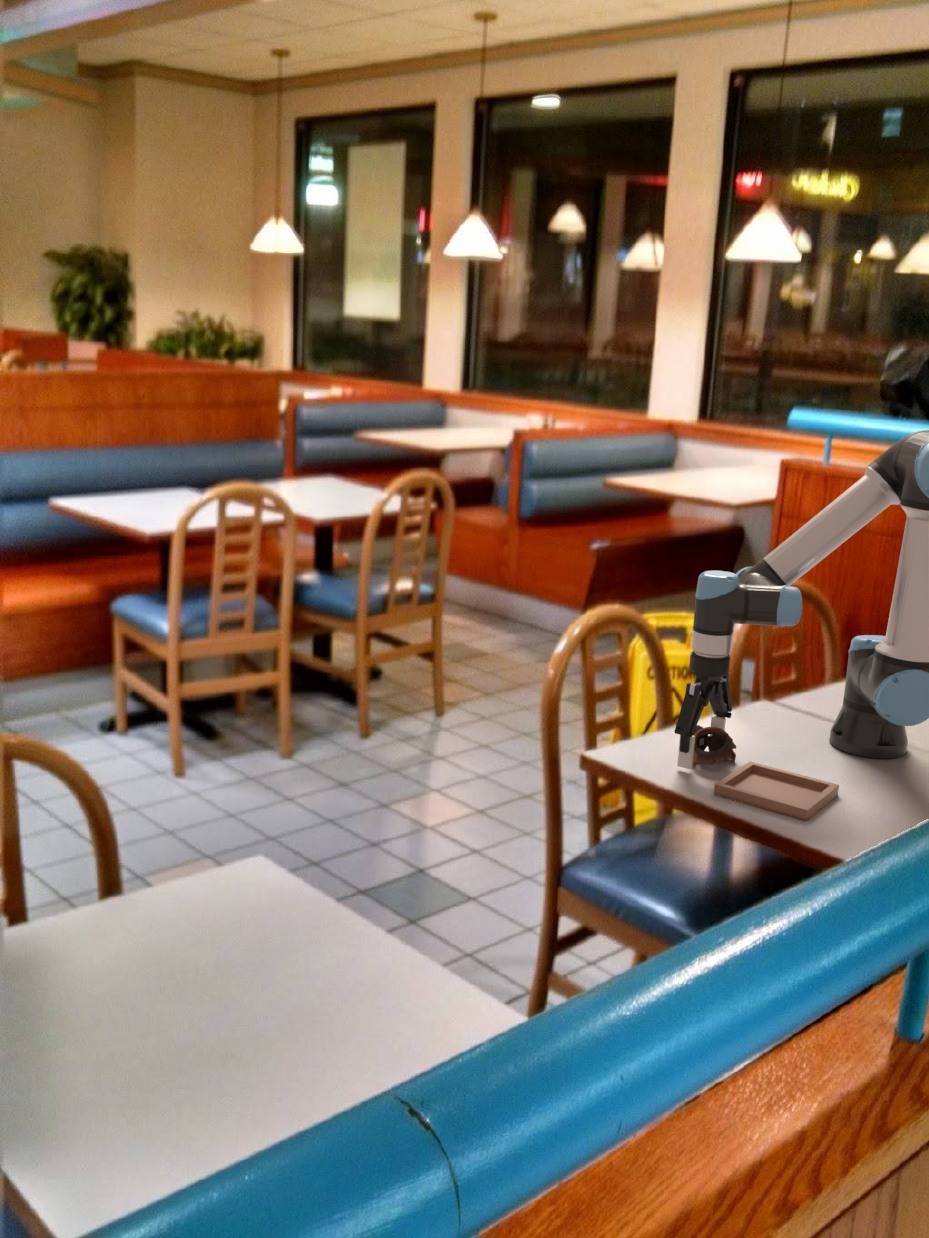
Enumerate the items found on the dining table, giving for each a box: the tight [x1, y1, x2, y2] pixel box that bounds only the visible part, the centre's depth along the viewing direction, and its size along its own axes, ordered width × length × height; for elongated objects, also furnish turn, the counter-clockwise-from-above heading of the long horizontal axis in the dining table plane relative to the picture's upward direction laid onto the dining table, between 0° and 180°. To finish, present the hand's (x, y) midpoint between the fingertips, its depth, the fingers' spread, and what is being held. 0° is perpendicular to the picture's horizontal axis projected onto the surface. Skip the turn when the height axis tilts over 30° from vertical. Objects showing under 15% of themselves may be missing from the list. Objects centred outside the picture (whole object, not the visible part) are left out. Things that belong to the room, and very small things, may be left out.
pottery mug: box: [692, 724, 737, 767], centre depth 235 cm, size 12×10×8 cm
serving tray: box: [713, 760, 840, 822], centre depth 220 cm, size 15×17×2 cm
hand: (700, 757), depth 235 cm, fingers open, 13 cm apart
